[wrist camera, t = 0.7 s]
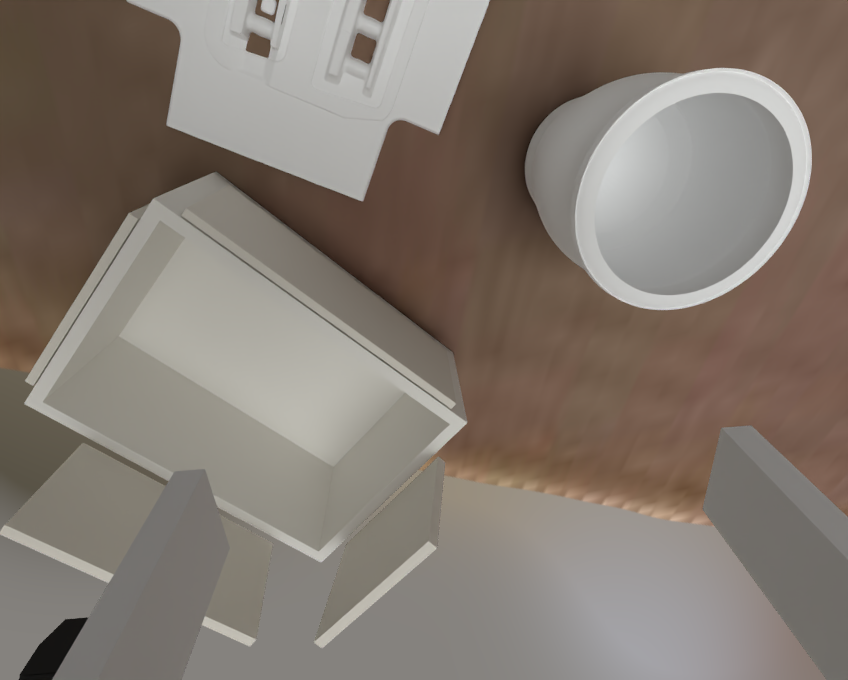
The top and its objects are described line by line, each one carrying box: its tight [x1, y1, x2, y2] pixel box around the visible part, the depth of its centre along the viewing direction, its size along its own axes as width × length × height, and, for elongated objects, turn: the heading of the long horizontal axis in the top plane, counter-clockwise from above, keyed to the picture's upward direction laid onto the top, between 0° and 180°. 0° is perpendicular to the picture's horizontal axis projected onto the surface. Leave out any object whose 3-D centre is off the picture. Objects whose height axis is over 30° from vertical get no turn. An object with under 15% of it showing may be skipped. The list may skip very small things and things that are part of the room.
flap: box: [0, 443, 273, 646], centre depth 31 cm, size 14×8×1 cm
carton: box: [24, 172, 467, 562], centre depth 37 cm, size 23×17×10 cm
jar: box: [525, 68, 812, 310], centre depth 29 cm, size 11×10×15 cm
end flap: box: [314, 457, 445, 648], centre depth 32 cm, size 8×10×1 cm
